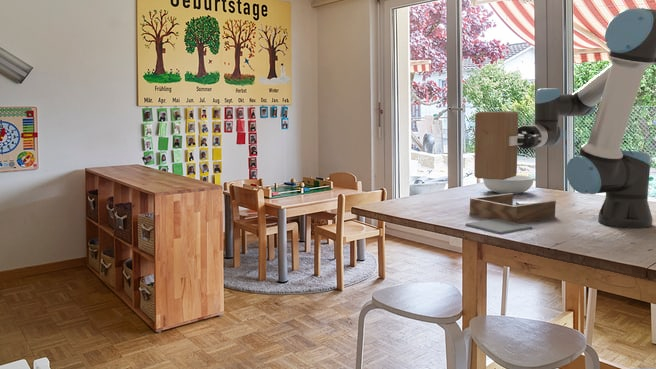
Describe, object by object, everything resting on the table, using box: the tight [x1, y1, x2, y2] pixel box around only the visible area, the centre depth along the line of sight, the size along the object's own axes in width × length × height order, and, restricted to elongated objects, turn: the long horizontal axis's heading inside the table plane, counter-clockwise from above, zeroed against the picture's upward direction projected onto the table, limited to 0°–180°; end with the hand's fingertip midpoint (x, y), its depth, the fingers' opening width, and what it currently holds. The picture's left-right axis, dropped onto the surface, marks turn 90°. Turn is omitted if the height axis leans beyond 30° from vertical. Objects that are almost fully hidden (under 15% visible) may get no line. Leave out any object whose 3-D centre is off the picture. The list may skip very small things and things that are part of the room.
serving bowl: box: [482, 174, 535, 195], centre depth 236 cm, size 21×21×7 cm
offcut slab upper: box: [515, 201, 538, 206], centre depth 190 cm, size 8×4×2 cm, turn 88°
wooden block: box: [473, 110, 519, 180], centre depth 166 cm, size 10×10×20 cm
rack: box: [469, 193, 557, 224], centre depth 187 cm, size 19×20×6 cm
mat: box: [465, 219, 533, 235], centre depth 170 cm, size 14×14×1 cm
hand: (492, 140), depth 165 cm, fingers closed on wooden block, 11 cm apart
